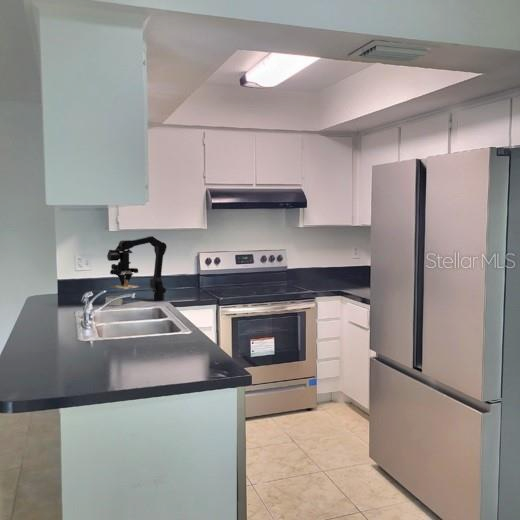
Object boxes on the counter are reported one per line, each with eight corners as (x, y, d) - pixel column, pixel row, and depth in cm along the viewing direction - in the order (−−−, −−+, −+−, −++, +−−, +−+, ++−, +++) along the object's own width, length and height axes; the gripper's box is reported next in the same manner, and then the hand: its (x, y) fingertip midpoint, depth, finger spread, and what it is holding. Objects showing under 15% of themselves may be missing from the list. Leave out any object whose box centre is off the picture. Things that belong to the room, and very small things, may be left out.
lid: (125, 285, 336) (125, 278, 336) (139, 287, 329) (139, 279, 329) (109, 287, 325) (109, 279, 325) (124, 289, 318) (124, 281, 318)
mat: (141, 301, 341) (141, 301, 341) (160, 304, 331) (160, 303, 331) (121, 305, 327) (121, 304, 327) (140, 308, 317) (140, 307, 317)
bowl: (115, 303, 336) (114, 295, 335) (125, 304, 330) (125, 296, 330) (102, 305, 327) (102, 297, 327) (113, 306, 322) (113, 299, 321)
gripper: (126, 259, 338) (126, 282, 340) (104, 260, 323) (104, 285, 324) (138, 259, 332) (138, 283, 334) (116, 261, 317) (116, 286, 318)
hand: (124, 284), depth 327 cm, fingers closed on lid, 3 cm apart
